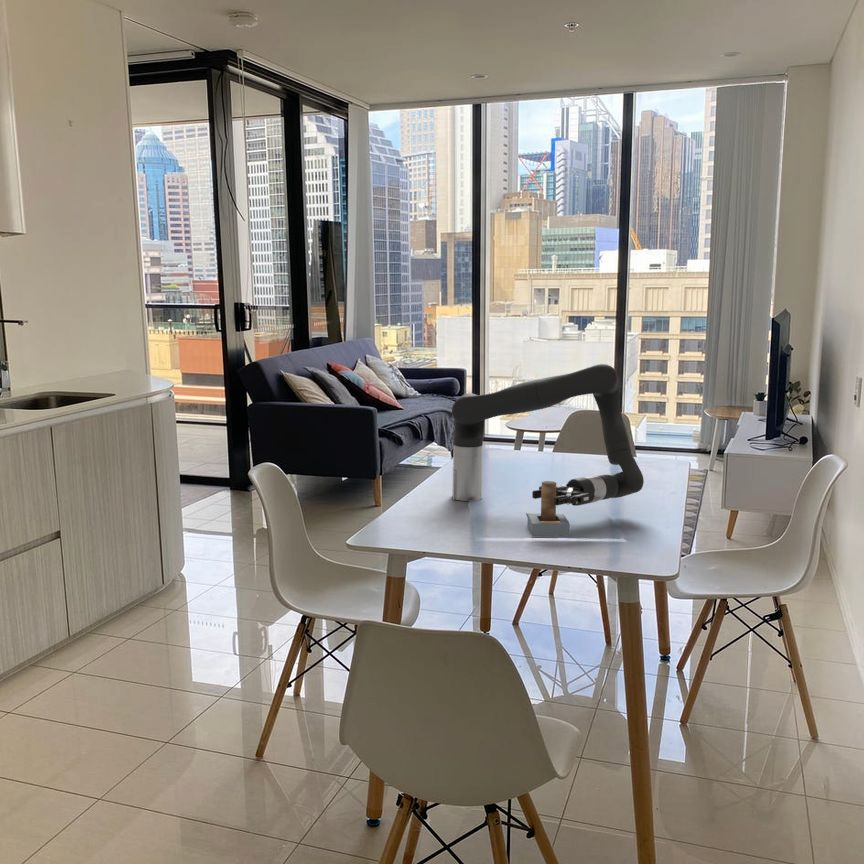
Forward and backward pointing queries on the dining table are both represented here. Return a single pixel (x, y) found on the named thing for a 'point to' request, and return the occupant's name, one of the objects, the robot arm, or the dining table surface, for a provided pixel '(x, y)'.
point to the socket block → (548, 525)
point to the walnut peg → (548, 501)
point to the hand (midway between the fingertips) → (543, 498)
